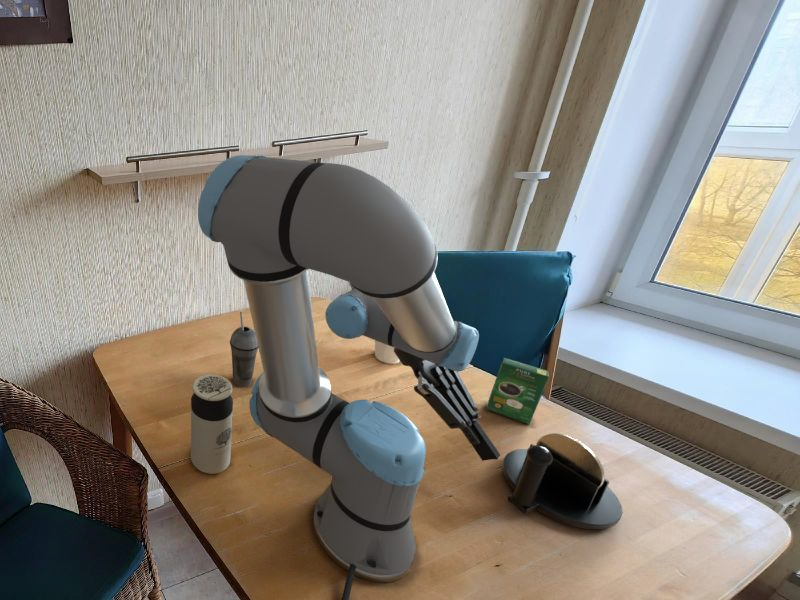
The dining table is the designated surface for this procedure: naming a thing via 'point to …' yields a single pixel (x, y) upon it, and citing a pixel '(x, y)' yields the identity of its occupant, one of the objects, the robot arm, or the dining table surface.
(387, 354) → the foam cup
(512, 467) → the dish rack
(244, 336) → the beverage cup
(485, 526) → the dining table surface
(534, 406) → the coffee box
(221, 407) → the travel mug
